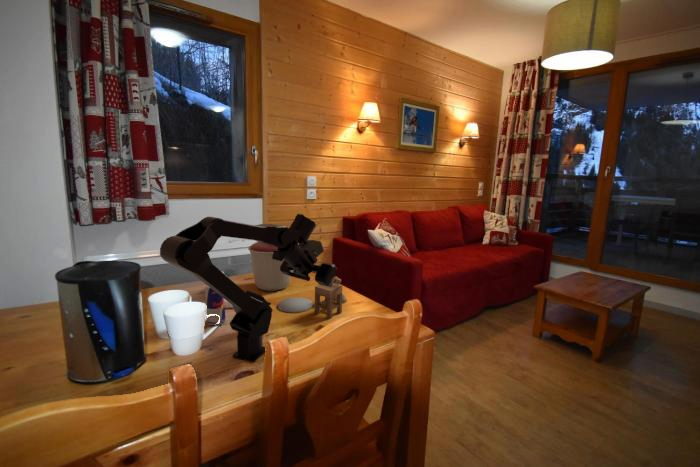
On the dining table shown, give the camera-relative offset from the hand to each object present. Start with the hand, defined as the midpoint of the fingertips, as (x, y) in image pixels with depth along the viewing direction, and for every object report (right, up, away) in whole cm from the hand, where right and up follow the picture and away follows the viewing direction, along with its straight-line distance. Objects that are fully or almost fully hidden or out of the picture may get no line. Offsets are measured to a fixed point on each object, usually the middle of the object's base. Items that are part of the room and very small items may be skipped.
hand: (320, 282), depth 106 cm
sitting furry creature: (-34, -9, +10) cm, 37 cm away
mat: (-10, -10, +11) cm, 18 cm away
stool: (+2, -11, +6) cm, 13 cm away
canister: (-22, -6, +29) cm, 37 cm away
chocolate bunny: (+4, -9, +16) cm, 19 cm away
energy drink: (-32, -12, -3) cm, 34 cm away
